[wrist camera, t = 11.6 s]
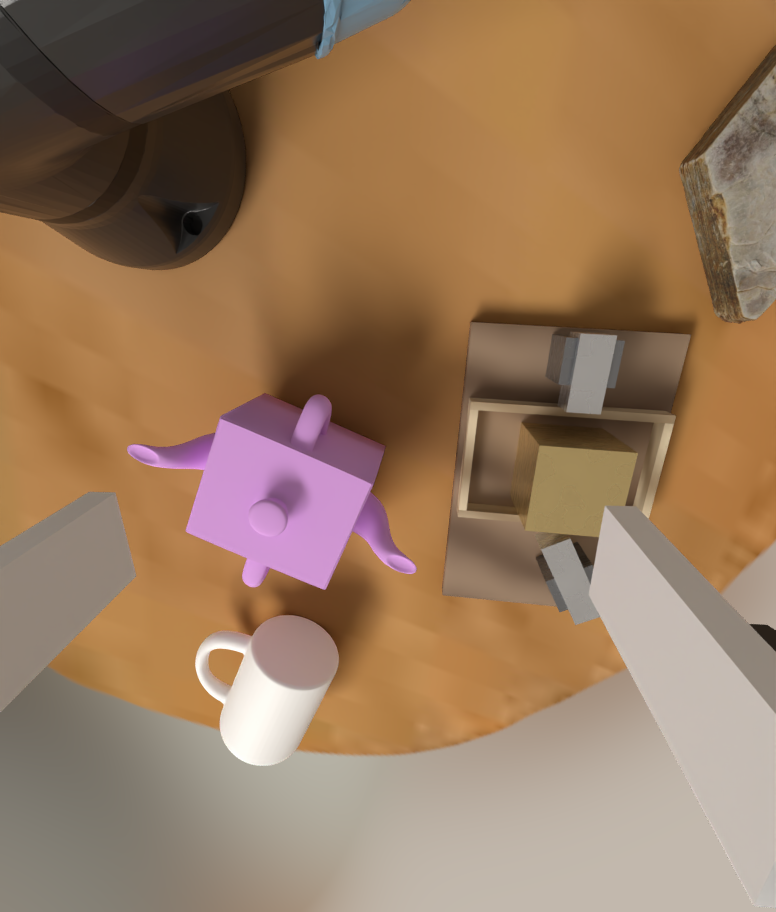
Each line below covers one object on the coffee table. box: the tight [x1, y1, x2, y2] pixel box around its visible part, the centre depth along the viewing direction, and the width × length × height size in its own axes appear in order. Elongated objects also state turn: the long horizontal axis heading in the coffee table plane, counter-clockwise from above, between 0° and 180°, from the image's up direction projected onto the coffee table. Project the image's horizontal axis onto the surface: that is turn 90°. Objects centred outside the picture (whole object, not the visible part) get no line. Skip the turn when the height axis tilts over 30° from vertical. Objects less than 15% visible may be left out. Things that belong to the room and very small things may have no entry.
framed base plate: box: [442, 322, 691, 606], centre depth 35 cm, size 23×15×3 cm, turn 177°
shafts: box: [535, 332, 625, 625], centre depth 33 cm, size 22×6×4 cm, turn 177°
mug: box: [196, 615, 339, 766], centre depth 41 cm, size 12×10×8 cm
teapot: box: [127, 393, 417, 590], centre depth 32 cm, size 15×13×11 cm
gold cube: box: [510, 422, 638, 537], centre depth 32 cm, size 6×6×6 cm
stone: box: [679, 46, 776, 323], centre depth 28 cm, size 15×8×3 cm, turn 25°
